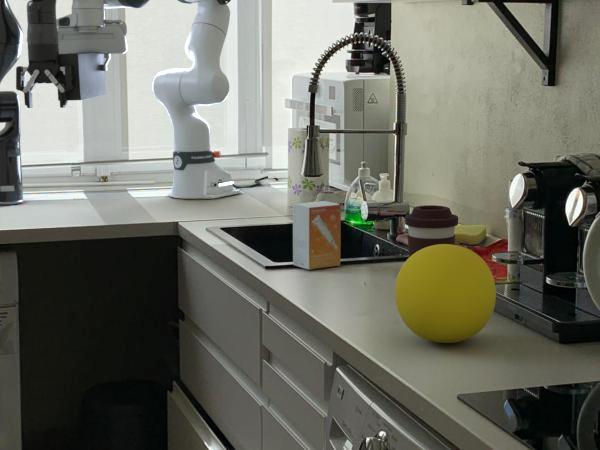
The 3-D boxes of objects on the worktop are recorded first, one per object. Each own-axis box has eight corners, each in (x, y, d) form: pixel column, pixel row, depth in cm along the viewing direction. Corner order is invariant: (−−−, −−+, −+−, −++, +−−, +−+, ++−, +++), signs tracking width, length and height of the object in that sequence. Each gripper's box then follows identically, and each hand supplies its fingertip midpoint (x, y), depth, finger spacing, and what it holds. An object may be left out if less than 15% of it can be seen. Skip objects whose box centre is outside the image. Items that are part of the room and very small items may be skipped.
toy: (462, 323, 171) (464, 233, 168) (512, 348, 157) (515, 250, 154) (379, 333, 165) (379, 240, 163) (423, 359, 151) (424, 258, 149)
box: (80, 100, 265) (77, 53, 263) (58, 100, 265) (55, 54, 263) (105, 94, 292) (103, 51, 290) (85, 94, 292) (82, 52, 290)
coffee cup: (400, 280, 202) (400, 204, 200) (450, 279, 203) (451, 203, 201) (409, 292, 193) (410, 212, 190) (462, 291, 193) (463, 211, 191)
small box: (309, 270, 213) (308, 207, 211) (292, 265, 218) (291, 203, 216) (341, 265, 217) (341, 203, 215) (324, 260, 222) (323, 200, 220)
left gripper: (75, 42, 264) (78, 106, 267) (20, 42, 265) (24, 107, 268) (66, 42, 256) (69, 108, 259) (9, 42, 258) (13, 108, 260)
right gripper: (128, 19, 288) (130, 70, 290) (55, 20, 289) (58, 71, 291) (123, 19, 282) (126, 71, 284) (48, 20, 283) (51, 72, 285)
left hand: (46, 107), depth 263 cm, fingers open, 8 cm apart
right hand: (91, 71), depth 288 cm, fingers closed on box, 6 cm apart
